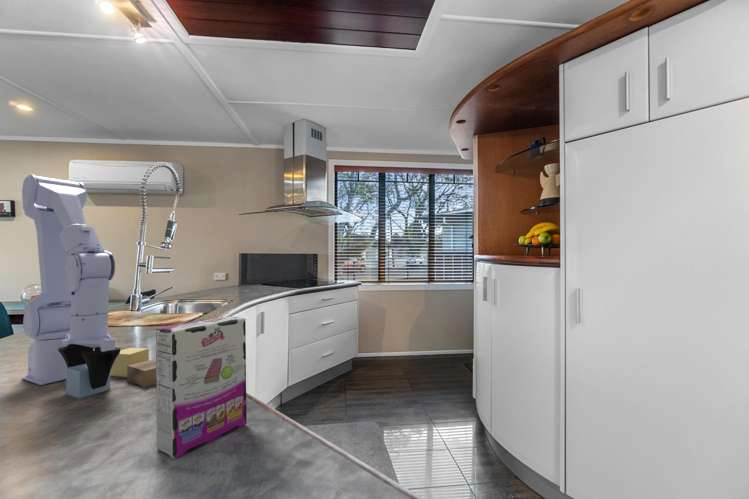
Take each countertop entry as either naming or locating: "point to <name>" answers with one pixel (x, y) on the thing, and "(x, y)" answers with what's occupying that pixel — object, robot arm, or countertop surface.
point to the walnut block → (142, 373)
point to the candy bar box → (199, 383)
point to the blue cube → (81, 382)
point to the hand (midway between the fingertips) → (88, 384)
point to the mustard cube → (128, 360)
